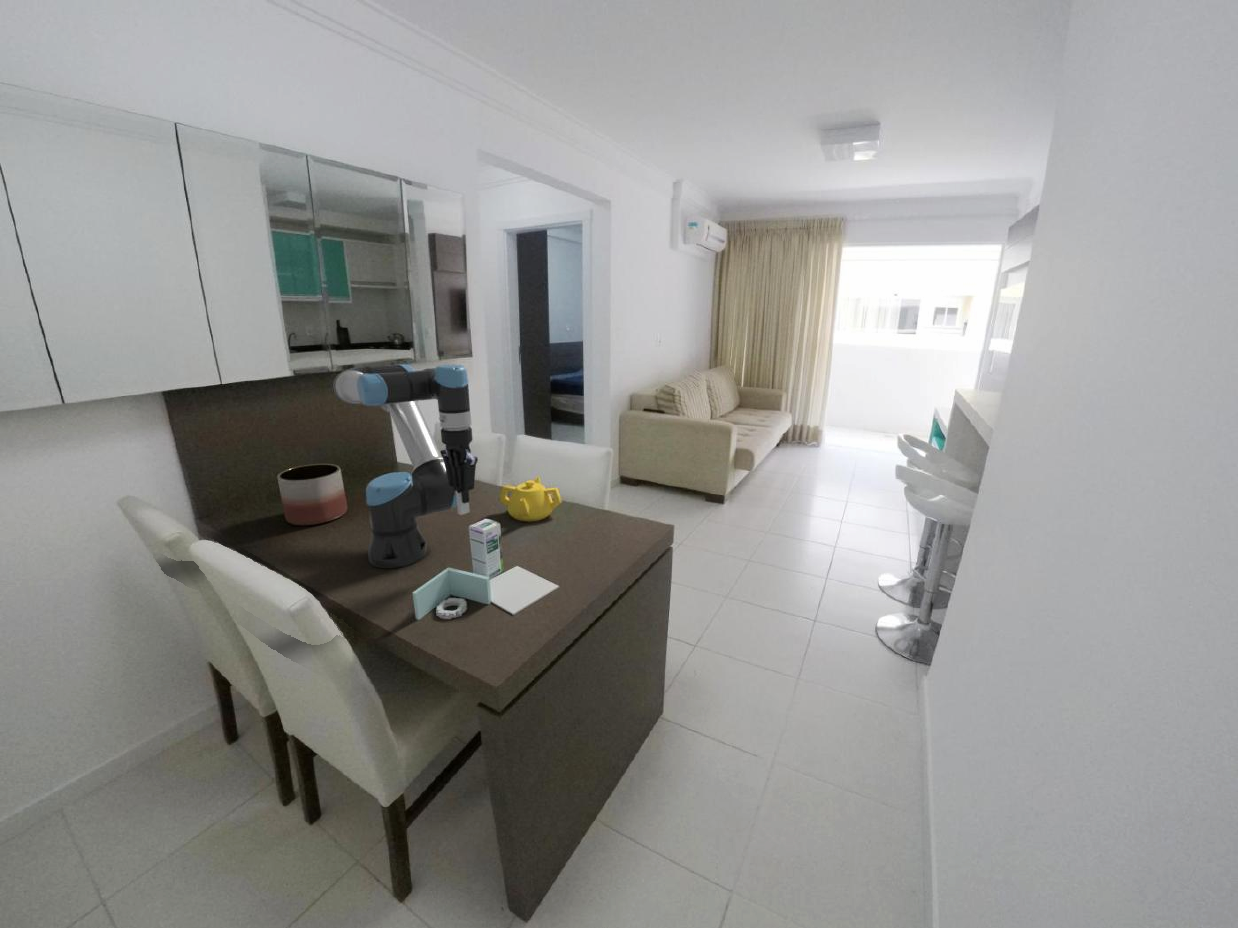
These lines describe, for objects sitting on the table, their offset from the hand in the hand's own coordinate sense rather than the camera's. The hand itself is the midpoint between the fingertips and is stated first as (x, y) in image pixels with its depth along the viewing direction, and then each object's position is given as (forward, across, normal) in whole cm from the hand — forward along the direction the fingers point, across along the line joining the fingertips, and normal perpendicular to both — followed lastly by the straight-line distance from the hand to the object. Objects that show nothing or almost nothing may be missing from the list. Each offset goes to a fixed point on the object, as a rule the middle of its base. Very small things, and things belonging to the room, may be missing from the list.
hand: (463, 512), depth 129 cm
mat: (+15, +20, 0) cm, 25 cm away
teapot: (+15, -12, +34) cm, 39 cm away
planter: (+15, -65, -13) cm, 68 cm away
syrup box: (+15, +9, 0) cm, 18 cm away
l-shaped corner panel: (+16, +16, -15) cm, 27 cm away
